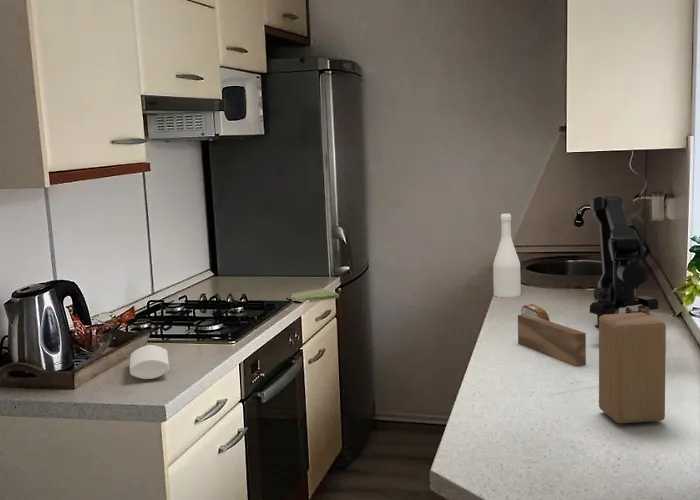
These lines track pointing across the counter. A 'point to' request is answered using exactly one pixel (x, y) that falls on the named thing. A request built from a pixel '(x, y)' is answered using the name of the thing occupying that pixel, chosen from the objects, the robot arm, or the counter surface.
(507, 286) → the wine bottle
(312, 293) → the washcloth
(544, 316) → the tin
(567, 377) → the counter surface
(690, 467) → the counter surface
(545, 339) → the walnut board
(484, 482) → the counter surface
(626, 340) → the wooden block
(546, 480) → the counter surface
